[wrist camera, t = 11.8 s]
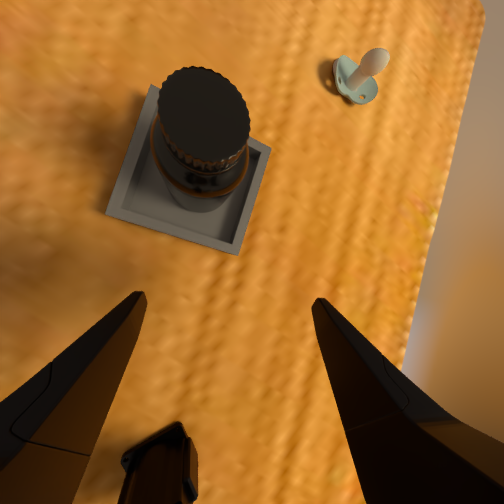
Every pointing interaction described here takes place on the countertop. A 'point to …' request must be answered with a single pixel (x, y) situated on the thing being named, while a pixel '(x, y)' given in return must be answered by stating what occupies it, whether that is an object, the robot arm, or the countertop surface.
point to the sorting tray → (162, 203)
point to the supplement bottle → (200, 138)
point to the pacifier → (360, 75)
